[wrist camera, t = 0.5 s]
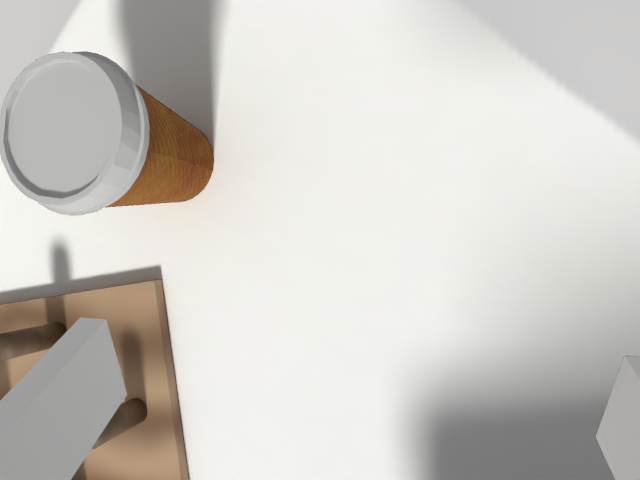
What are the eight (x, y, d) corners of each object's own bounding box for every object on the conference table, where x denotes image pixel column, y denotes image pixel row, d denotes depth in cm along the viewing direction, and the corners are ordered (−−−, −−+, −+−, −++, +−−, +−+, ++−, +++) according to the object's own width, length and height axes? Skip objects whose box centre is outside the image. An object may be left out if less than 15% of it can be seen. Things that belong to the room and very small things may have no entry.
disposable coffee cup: (244, 205, 36) (145, 189, 25) (140, 234, 39) (7, 231, 27) (218, 87, 37) (110, 17, 25) (118, 123, 40) (-21, 74, 28)
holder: (195, 530, 37) (148, 583, 32) (1, 528, 43) (-69, 573, 37) (161, 279, 38) (109, 286, 33) (-25, 308, 44) (-97, 319, 38)
